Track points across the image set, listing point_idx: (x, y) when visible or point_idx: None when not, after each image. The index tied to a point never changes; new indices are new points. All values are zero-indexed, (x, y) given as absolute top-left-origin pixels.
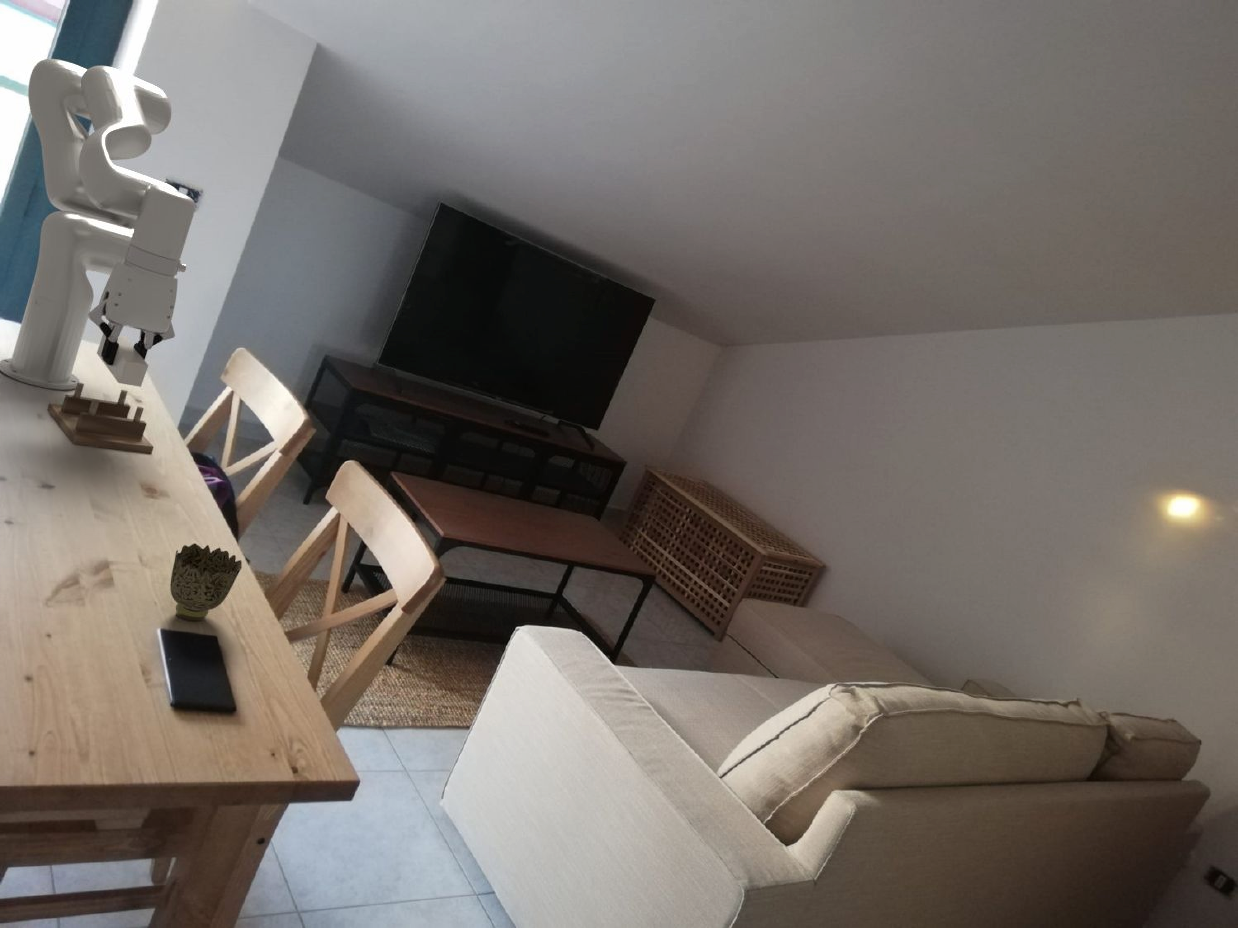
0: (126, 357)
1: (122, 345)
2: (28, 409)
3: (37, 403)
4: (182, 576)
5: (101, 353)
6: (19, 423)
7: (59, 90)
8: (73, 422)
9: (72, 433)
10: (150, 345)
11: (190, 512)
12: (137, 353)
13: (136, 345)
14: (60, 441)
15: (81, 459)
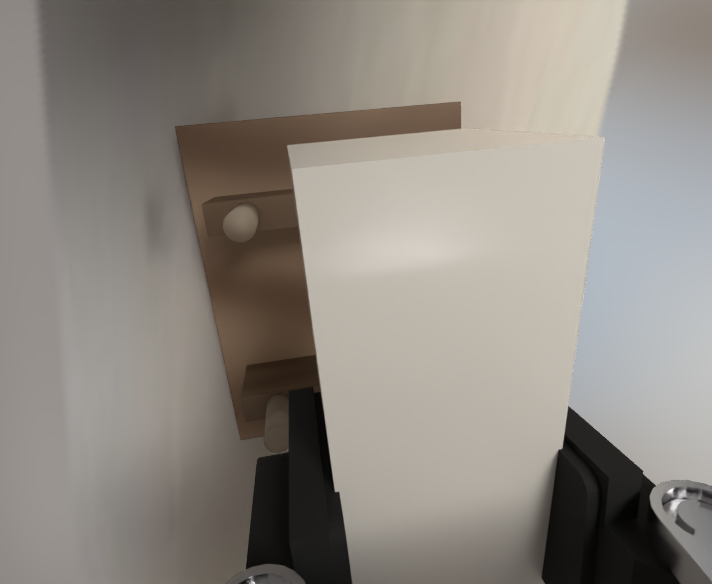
0: None
1: (441, 486)
2: (113, 164)
3: (146, 62)
4: None
5: (258, 460)
6: (88, 331)
7: None
8: (247, 310)
9: (234, 406)
10: None
11: None
12: (530, 576)
13: (580, 535)
14: (206, 422)
15: (249, 518)
